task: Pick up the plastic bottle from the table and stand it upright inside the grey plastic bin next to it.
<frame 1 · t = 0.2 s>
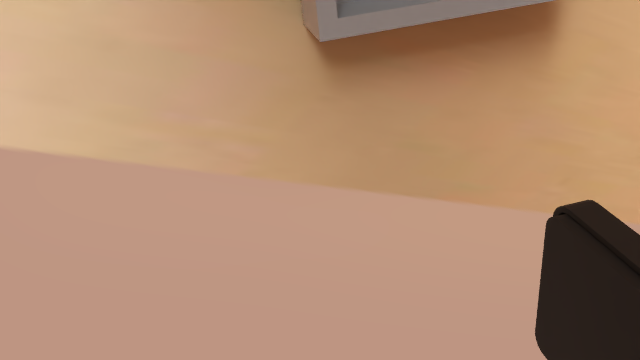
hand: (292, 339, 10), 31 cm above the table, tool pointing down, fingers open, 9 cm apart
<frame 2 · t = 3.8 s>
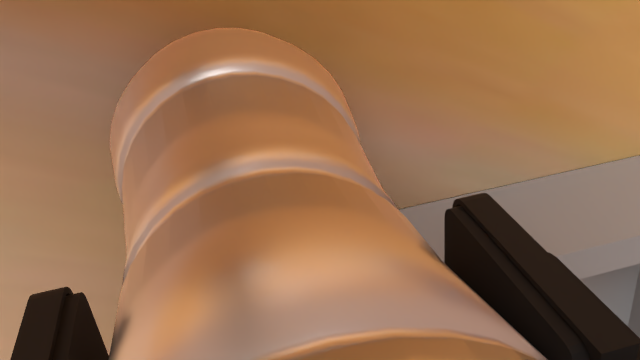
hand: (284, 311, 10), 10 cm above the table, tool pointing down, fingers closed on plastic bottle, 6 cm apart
plastic bottle: (226, 111, 19), on the table, touching gripper
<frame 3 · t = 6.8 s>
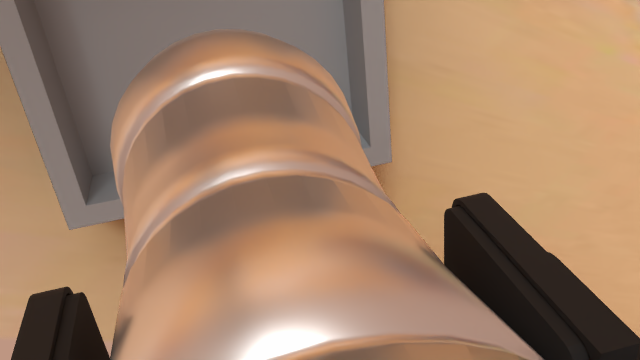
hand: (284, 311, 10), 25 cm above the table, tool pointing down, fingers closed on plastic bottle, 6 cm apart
bin: (199, 13, 32), on the table
plastic bottle: (226, 113, 19), point 15 cm above the table, touching gripper
when the fingers open (12 cm above the table, at t = 10.1 s): plastic bottle drops 1 cm, resting on bin.
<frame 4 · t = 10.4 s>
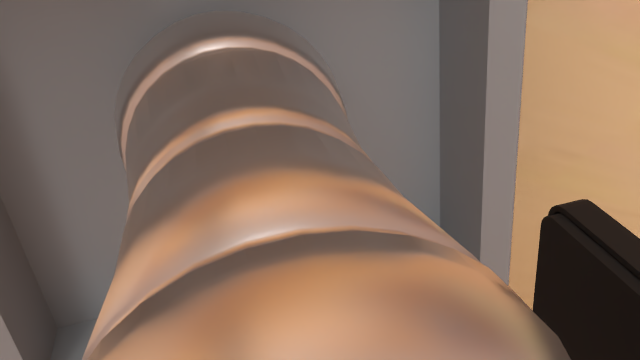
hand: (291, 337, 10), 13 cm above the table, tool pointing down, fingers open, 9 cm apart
bin: (220, 89, 21), on the table
plastic bottle: (223, 92, 20), point 1 cm above the table, touching bin
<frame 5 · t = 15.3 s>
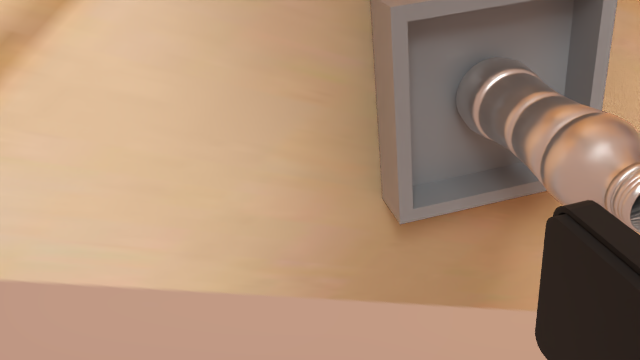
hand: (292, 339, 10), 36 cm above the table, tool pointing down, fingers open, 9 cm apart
bin: (477, 86, 50), on the table
plastic bottle: (482, 87, 49), point 1 cm above the table, touching bin
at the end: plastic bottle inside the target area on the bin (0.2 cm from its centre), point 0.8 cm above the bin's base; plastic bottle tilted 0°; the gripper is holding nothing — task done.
